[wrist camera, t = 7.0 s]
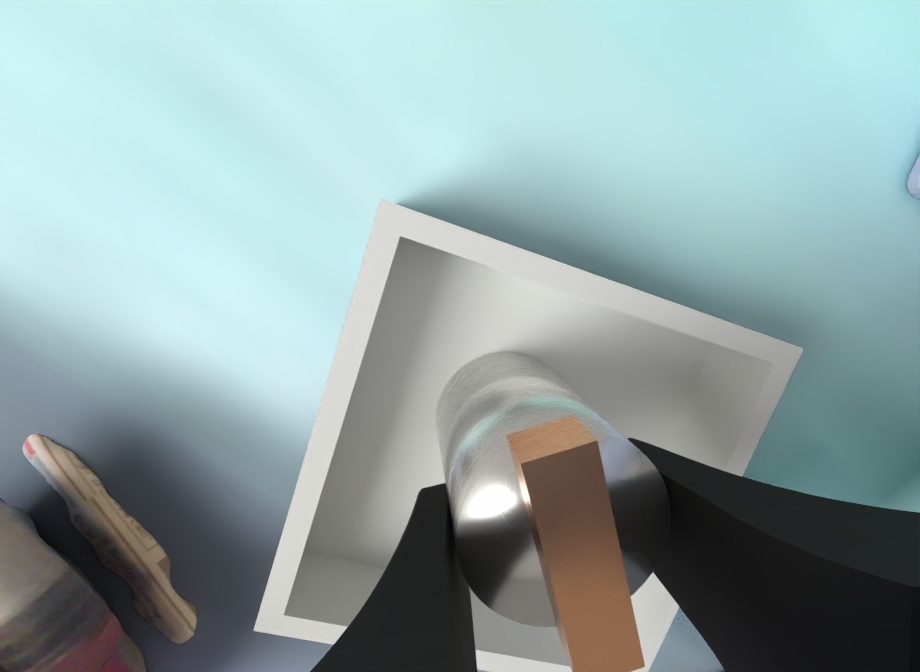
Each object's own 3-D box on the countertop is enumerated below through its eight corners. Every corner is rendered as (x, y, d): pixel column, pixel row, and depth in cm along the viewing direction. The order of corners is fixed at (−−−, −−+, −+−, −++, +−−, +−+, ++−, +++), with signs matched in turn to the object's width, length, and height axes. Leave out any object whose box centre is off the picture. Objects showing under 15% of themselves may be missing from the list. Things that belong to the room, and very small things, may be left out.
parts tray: (723, 325, 15) (804, 348, 12) (595, 614, 16) (636, 696, 13) (386, 206, 13) (381, 198, 10) (283, 550, 14) (253, 630, 12)
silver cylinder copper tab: (581, 461, 14) (720, 641, 8) (457, 500, 14) (500, 715, 8) (551, 328, 13) (685, 413, 7) (417, 367, 13) (429, 491, 7)
